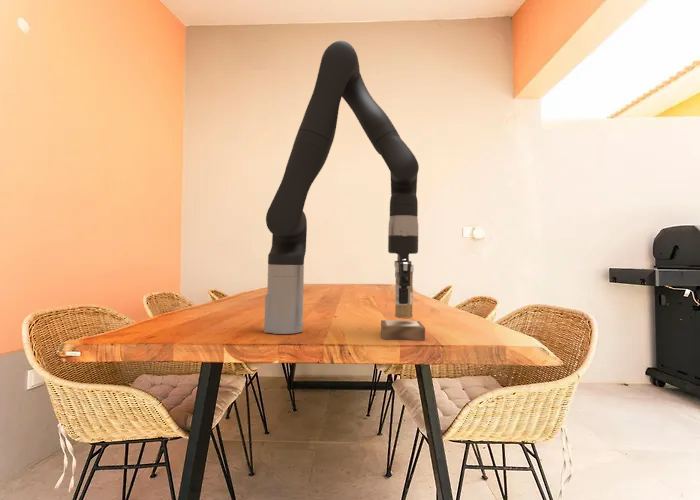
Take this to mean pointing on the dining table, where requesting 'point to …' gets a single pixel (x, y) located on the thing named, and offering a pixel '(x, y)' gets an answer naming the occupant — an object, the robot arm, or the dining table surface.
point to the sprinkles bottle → (406, 309)
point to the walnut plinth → (402, 330)
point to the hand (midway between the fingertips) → (402, 302)
